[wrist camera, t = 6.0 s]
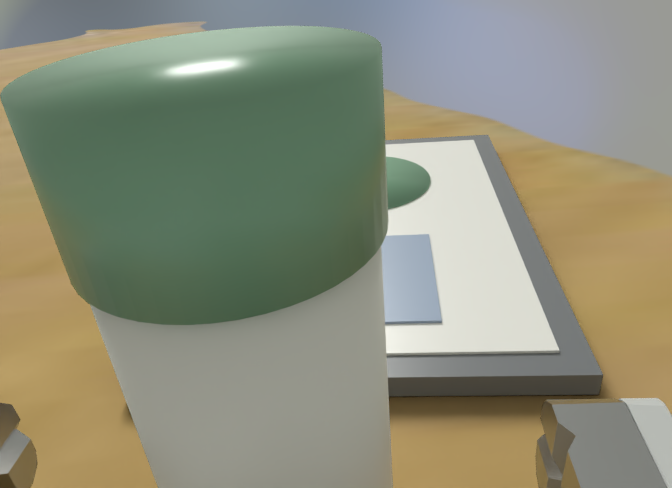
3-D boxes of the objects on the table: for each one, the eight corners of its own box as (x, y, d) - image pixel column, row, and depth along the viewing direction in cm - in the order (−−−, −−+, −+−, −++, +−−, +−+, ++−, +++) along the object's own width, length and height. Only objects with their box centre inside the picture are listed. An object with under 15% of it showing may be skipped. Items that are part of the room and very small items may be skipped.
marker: (203, 752, 10) (-100, 130, 4) (245, 552, 14) (104, 38, 8) (409, 764, 10) (381, 101, 4) (402, 555, 13) (382, 17, 7)
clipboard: (126, 398, 19) (118, 376, 18) (252, 159, 37) (249, 144, 36) (598, 394, 17) (604, 369, 17) (487, 147, 35) (488, 131, 35)
